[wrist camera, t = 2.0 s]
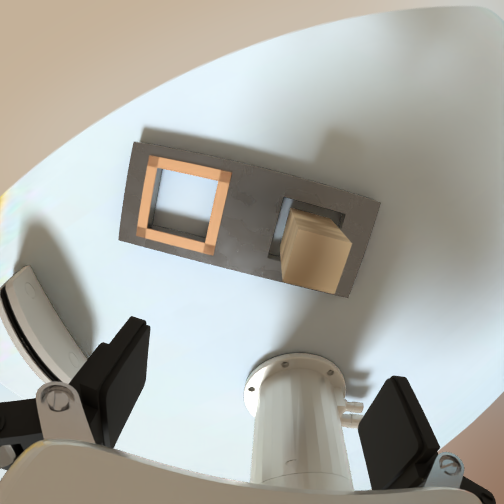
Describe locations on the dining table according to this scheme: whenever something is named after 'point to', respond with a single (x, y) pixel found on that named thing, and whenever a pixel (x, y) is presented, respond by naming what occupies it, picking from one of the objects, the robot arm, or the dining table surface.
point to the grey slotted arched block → (38, 329)
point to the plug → (313, 251)
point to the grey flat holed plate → (236, 212)
